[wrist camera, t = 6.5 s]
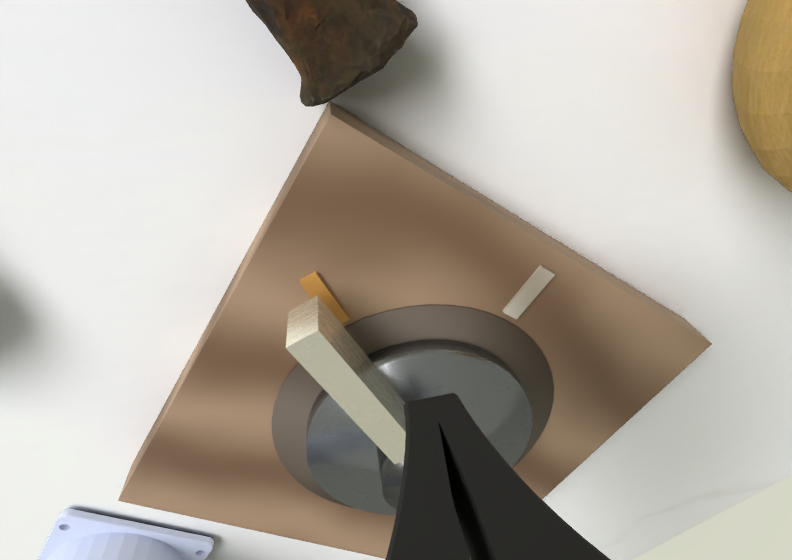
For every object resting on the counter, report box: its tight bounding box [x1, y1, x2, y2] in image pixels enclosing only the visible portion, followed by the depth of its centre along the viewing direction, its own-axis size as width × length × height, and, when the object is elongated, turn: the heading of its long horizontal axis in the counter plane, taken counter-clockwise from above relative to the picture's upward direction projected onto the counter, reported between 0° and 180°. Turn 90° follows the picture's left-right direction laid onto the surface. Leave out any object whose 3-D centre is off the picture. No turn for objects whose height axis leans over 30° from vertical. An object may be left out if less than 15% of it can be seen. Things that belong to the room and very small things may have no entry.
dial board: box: [118, 101, 712, 560], centre depth 23 cm, size 20×20×2 cm
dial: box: [286, 295, 532, 515], centre depth 20 cm, size 14×10×3 cm
